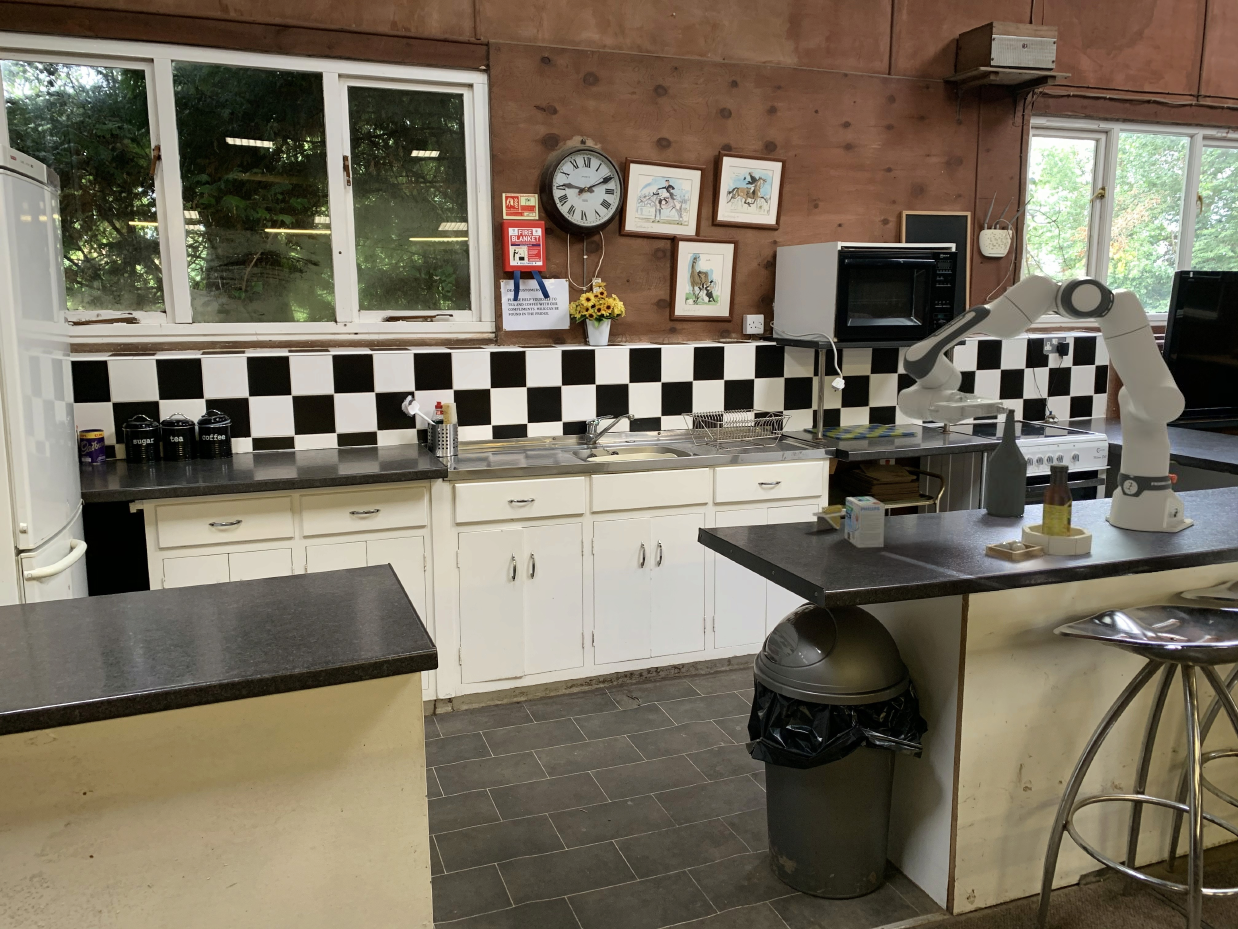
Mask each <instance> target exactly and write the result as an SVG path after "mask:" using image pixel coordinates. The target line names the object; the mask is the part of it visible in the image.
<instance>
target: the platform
mask: <svg viewBox="0 0 1238 929" xmlns="http://www.w3.org/2000/svg"><path fill="white" fill-rule="evenodd" d="M811 515H812V516H814V517H816V531H823V530H829V529H830V530H831V529H837V530H839V529H841V516H844V515H846V509H843V505H840V504H836V505H829V506H822V507H821V511H817V512H813V513H812V514H811Z"/></svg>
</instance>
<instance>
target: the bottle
mask: <svg viewBox="0 0 1238 929" xmlns="http://www.w3.org/2000/svg"><path fill="white" fill-rule="evenodd" d="M1015 413H1016V410H1015V409H1013V408H1009V411H1008V414H1005V418H1004V425H1003V430H1002V431H1003V432H1002V438H1001V442H1000V443H999V445H998V446H997V447H996V449H995V450H994V451H993V453H992V454H991V455H990V457H989V458H988V462H987V463H988V464H987V479H986V481H987V482H986V500H985V511H986V513H987V514H988V516H989V515H990V516H993V517H997V518H1008V519H1009V518H1010V519H1012V518H1011V517H1016V518H1019V517H1018V516H1020V517H1022V516H1021V515H1024V514H1025V508H1026V493H1027V491H1026V490H1027V489H1026V488H1027V475H1028V473H1027V472H1028V461H1027V459H1026V457H1025V456H1024V454H1023V453H1022V451H1021V449H1020V447H1019V446H1018V443H1017V438H1016V436H1017V435H1016V419H1015V416H1016V415H1015Z"/></svg>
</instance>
